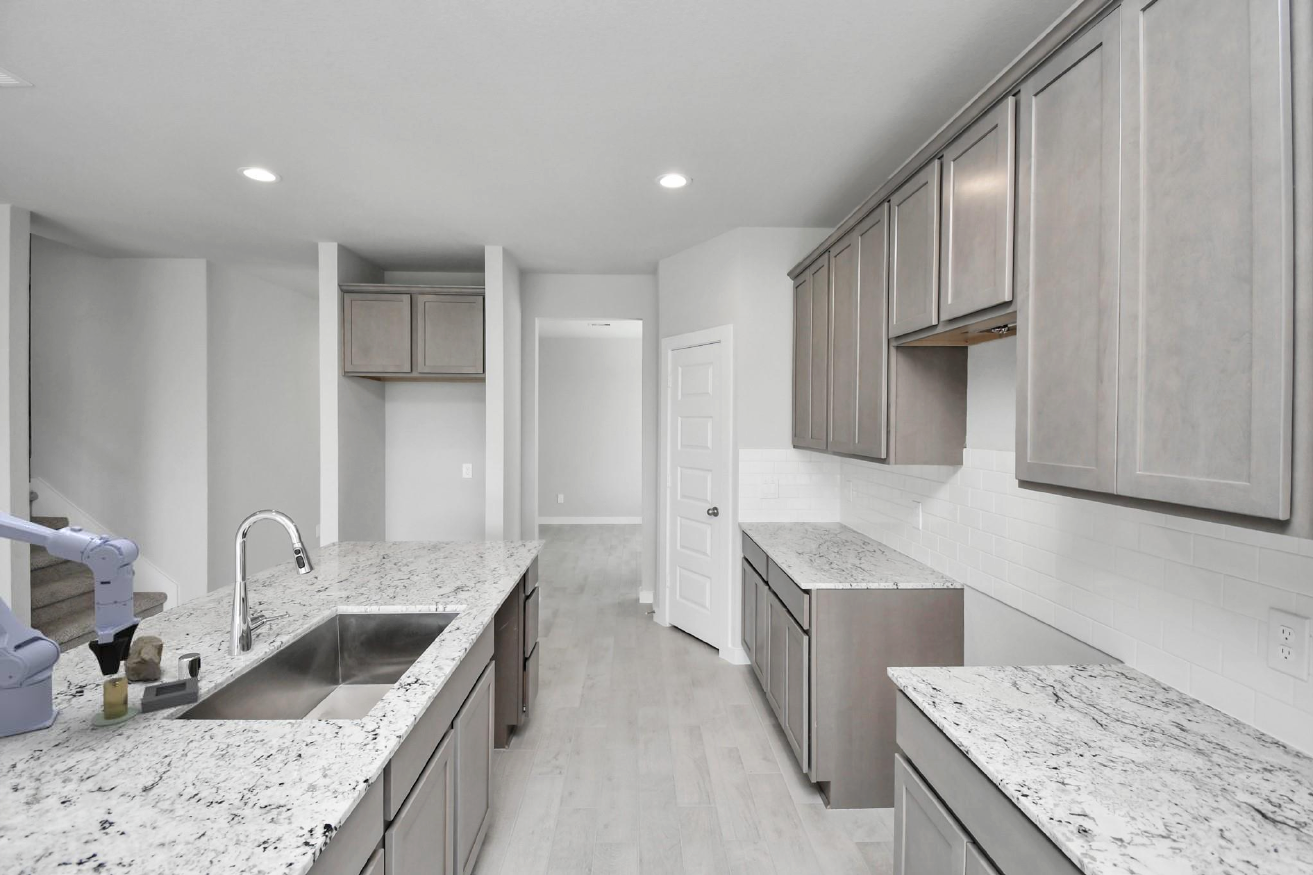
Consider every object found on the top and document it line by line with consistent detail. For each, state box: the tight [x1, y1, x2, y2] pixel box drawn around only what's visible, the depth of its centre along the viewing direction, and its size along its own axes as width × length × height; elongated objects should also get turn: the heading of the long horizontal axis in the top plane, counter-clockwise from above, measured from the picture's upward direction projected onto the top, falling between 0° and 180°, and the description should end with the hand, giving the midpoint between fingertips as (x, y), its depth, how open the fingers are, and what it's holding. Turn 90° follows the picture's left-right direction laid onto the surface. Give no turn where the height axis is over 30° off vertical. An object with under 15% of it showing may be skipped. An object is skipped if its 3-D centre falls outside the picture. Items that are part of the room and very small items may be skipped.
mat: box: [91, 706, 140, 727], centre depth 119 cm, size 7×7×1 cm
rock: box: [123, 635, 164, 681], centre depth 139 cm, size 12×7×10 cm, turn 40°
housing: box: [140, 676, 199, 715], centre depth 127 cm, size 9×9×2 cm
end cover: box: [102, 676, 129, 720], centre depth 119 cm, size 4×4×7 cm
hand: (115, 667), depth 120 cm, fingers open, 7 cm apart
